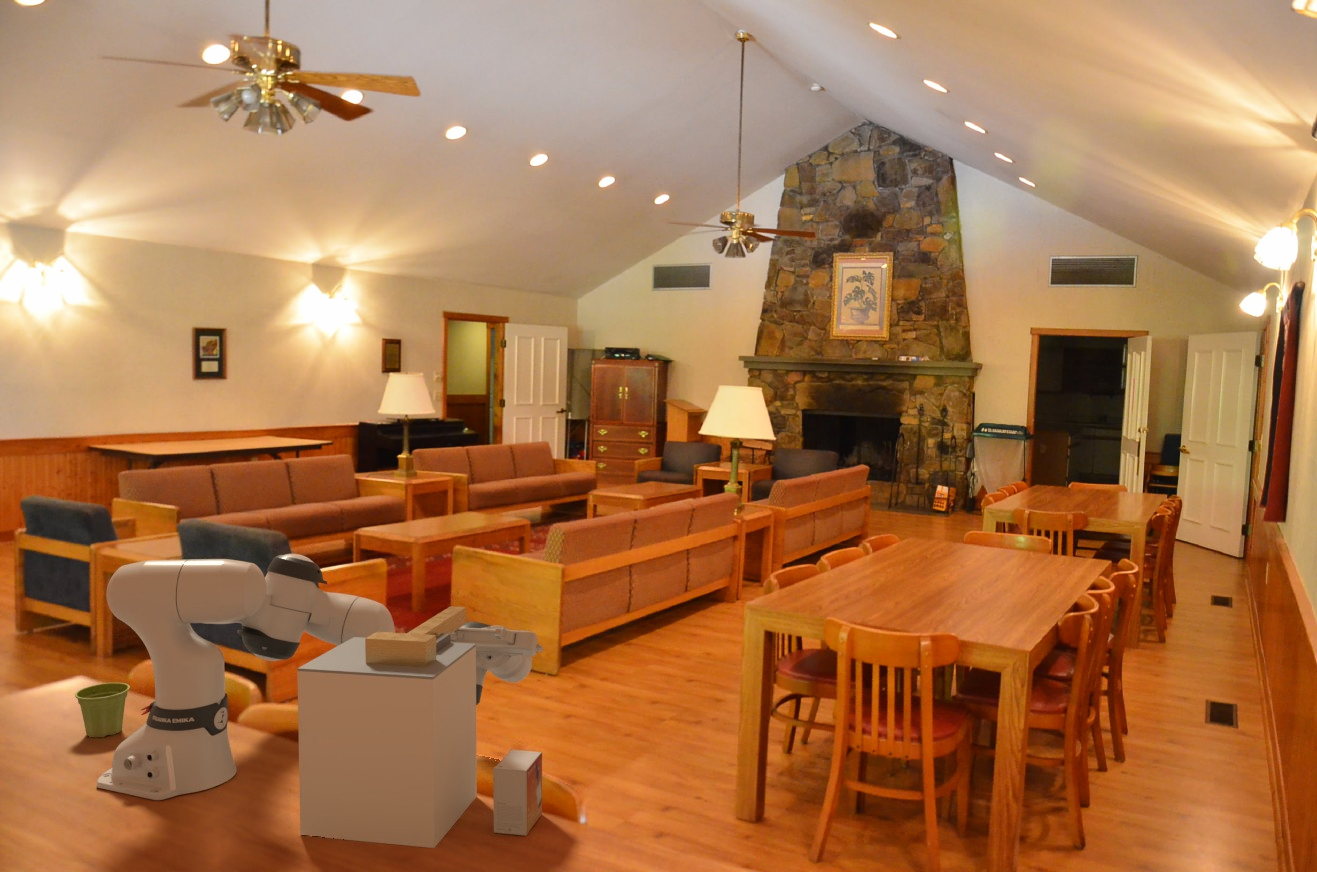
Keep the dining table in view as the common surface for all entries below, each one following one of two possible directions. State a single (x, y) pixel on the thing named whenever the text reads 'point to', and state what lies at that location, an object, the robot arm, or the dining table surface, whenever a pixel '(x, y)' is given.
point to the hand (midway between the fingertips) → (475, 630)
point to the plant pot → (103, 708)
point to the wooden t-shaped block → (413, 641)
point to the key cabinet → (387, 745)
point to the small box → (517, 792)
